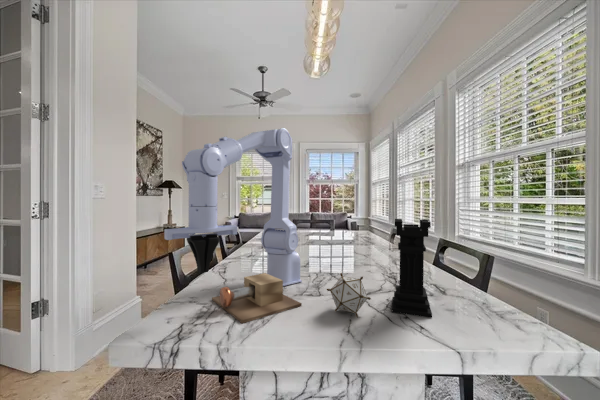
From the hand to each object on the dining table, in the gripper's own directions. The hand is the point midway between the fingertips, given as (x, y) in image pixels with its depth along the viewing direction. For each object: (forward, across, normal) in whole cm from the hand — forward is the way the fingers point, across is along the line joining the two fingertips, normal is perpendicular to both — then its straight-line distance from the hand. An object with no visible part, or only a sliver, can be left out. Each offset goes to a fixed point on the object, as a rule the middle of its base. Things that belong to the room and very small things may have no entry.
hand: (203, 271), depth 59 cm
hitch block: (+9, -12, 0) cm, 16 cm away
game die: (+10, -26, +17) cm, 33 cm away
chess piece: (+10, -39, +24) cm, 47 cm away
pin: (+9, -10, 0) cm, 13 cm away
